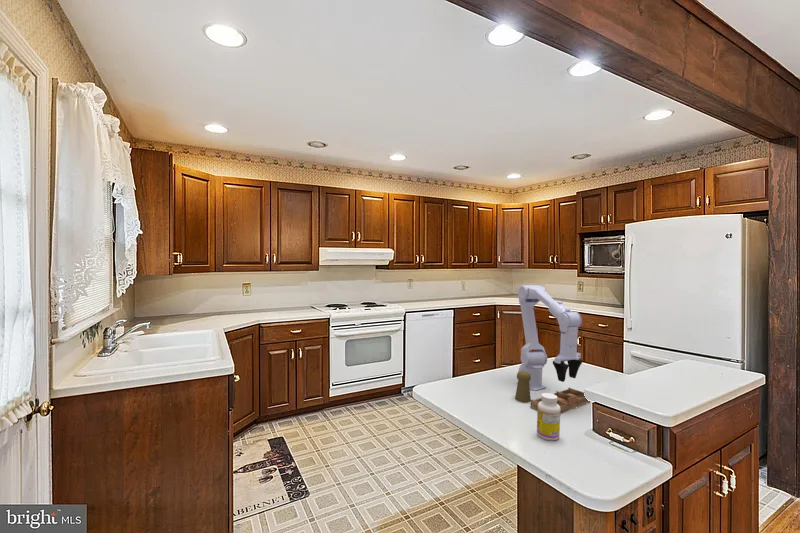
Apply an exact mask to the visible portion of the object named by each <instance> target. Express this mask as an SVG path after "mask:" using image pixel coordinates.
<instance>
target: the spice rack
mask: <svg viewBox="0 0 800 533" xmlns="http://www.w3.org/2000/svg"><path fill="white" fill-rule="evenodd" d="M584 393H585V392H584V391H581V390H578V389H575V388H571V387H568V388H566V389H564V390H560V391H559V390H558V391H556V392H555V393H553V394H554V395H556V396H557V404H558V405H559V406H560V409H561V410H560V415H561V414H564V413H566V412H569V411H572V410H575V409H576V407H577V408H580V407H582V406H584V404H585V405H587V404H586V403H588V404H590V403H591V402H590V401H588V400H587V399H586V398H585V396H584ZM541 401H542V399H541V397H539V398H536V399H531V402H530V408H531V409H532V410H535V411H536V412H538V403H539V402H541ZM579 406H580V407H579ZM571 409H572V410H571Z"/></svg>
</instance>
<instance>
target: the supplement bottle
mask: <svg viewBox="0 0 800 533" xmlns="http://www.w3.org/2000/svg"><path fill="white" fill-rule="evenodd" d="M540 398H541V399H542V401H541V402H539V403H538V411H536V412H537V413H536V414H537V417H536V434H537V436H538V437H539V438H541V439H543V440H545V441H556V440H559V438H560V436H561V435H560V431H561V430H560V429H561V414H560V410H561V409H560V406H559V405H558V404H557V396H556V395H554V393H551V392H543V393H541V396H540Z"/></svg>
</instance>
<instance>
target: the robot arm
mask: <svg viewBox="0 0 800 533" xmlns="http://www.w3.org/2000/svg"><path fill="white" fill-rule="evenodd" d="M517 297H518V298H517V299H518V303H519V306H520V312H521V318H522V324H523V332H524V339H525V344H524V345H523V346H522V347H521V349H520V352H521V353H520V361H521V364H520V365H519V368H518V372H519V371H526V372H528V373H530V375H531V379H530V381H529V386H530V391H539V390H543V389H546V388H547V386H546V385H544V384H543V368H545V365H547V363H548V356H547V354H546V350H545V347H544V346H543V345H542V344H540V342H539V337H538V330H537V329H538V328H537V323H536V322H537V321H536V317H535V316H536V315H535V310H534V307H535V306H536V305H538V304H539V302H541V303H542V304H544V305H545V306H546V307H548V309H547V310H548V312H549V313H550V314H552V316H554V317H555V319H557V322H558V325H559V331H560V344H559V345H560V347H559V353H558V355H557V356H555V357H554V360H553V361H552V365H553V366H554V369H555V372H556V375H557V379H558V381H560V382H562V383H564V382H565V380H566V375H567V371H568V376H569V377H568V378H571V379H576V378H577V375H578V372H579V369H580V367H581V365H582V364H583V359H582V354H581V352H577V351H578V334H579V333H578V331H579V328H580V327H581V325H582V323H583V318H582V316H581V314H580V313H579V312H578V311H573V310H571V309H570V308H568V307H567V306H566V305H565V304H563V301H561V300H555V299H553V297H552V296H551V295H550V294H549V293H548V292H547V290H546V288H545V287H544V286H543V285H541V284H538V285H535V284H534V285H531V284H529V285H527V284H526V285H525V284H522V285H520V286H519V288H518V290H517ZM565 362H567V363H565ZM518 372H517V373H518ZM517 384H518V382H517V383H516V385H517Z"/></svg>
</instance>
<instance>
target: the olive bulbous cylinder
mask: <svg viewBox="0 0 800 533" xmlns="http://www.w3.org/2000/svg"><path fill="white" fill-rule="evenodd" d="M518 371H519V370H518ZM516 379H517V383H518V384H517V383H516V389H515V395H514V400H515V401H517V402H519V403H525V404H527V403H531V400H532V399H531V398H532V397H531V389H530V386H529V381H530V379H531V375H530V373H528V372H526V371H519V372H517V373H516Z"/></svg>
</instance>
